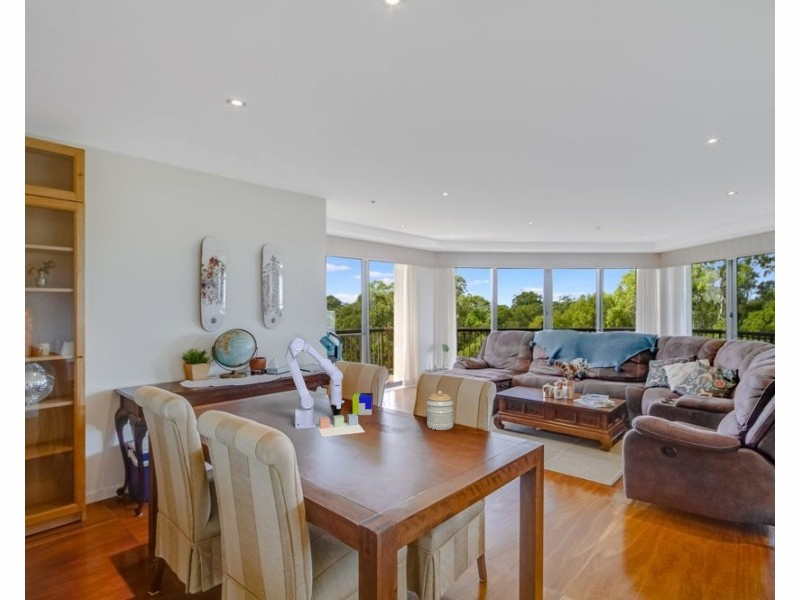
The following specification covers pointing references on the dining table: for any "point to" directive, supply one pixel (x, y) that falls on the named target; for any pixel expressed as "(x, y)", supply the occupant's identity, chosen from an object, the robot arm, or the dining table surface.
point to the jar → (440, 411)
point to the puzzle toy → (363, 403)
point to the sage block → (338, 421)
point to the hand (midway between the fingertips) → (336, 419)
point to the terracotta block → (324, 422)
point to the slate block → (352, 419)
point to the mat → (340, 430)
